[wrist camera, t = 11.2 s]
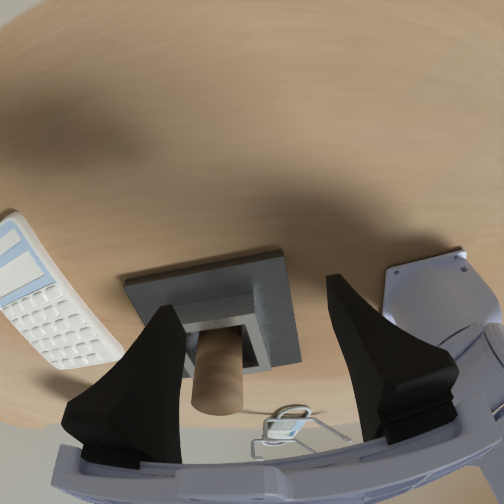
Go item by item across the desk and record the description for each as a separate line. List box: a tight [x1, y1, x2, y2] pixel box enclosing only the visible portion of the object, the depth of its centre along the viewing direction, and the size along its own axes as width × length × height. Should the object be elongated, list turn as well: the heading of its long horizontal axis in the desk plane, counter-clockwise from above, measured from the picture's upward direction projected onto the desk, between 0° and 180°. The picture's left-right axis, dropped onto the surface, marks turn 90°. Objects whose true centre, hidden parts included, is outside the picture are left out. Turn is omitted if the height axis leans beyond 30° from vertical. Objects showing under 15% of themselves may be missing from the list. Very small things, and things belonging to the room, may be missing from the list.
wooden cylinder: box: [191, 325, 243, 416], centre depth 25 cm, size 4×4×8 cm
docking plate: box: [123, 250, 302, 380], centre depth 27 cm, size 14×14×4 cm
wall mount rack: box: [251, 406, 352, 461], centre depth 41 cm, size 16×14×6 cm
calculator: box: [0, 211, 125, 370], centre depth 27 cm, size 13×20×2 cm, turn 21°
